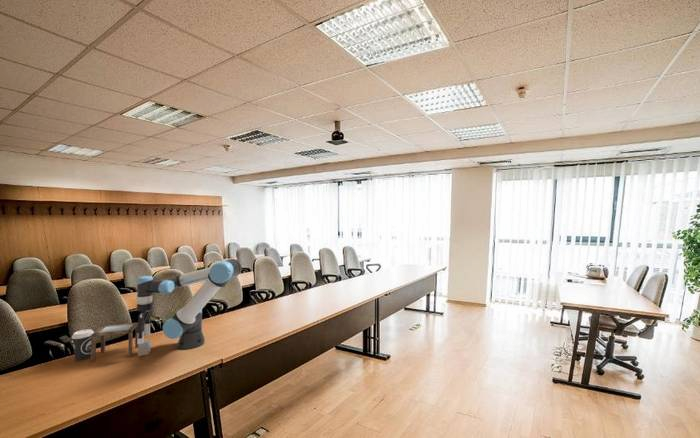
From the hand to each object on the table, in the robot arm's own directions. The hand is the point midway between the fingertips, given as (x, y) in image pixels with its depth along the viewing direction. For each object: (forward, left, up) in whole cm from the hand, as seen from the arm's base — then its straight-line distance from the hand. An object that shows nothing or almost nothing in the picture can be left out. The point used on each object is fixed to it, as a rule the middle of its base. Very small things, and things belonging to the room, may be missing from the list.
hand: (143, 339), depth 172 cm
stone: (0, 0, -8) cm, 8 cm away
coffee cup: (+30, -5, -9) cm, 32 cm away
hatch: (+15, -5, +6) cm, 17 cm away
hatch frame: (+15, -5, -8) cm, 17 cm away
